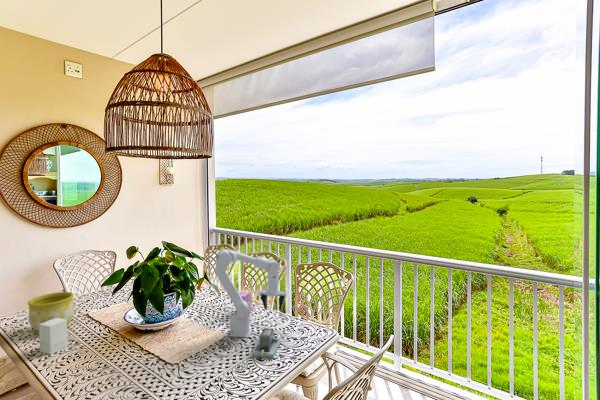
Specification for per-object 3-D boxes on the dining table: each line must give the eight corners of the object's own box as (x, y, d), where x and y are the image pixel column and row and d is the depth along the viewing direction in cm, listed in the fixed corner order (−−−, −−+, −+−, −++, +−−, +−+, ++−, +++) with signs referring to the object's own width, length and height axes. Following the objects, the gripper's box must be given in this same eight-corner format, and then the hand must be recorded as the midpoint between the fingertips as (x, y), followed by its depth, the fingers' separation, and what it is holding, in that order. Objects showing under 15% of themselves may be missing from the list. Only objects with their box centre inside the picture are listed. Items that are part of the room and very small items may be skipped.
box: (244, 316, 167) (244, 296, 166) (235, 315, 168) (235, 295, 167) (251, 309, 177) (251, 290, 176) (242, 308, 178) (242, 289, 178)
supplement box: (68, 346, 134) (67, 319, 134) (50, 355, 127) (49, 326, 127) (57, 343, 137) (56, 317, 136) (39, 351, 130) (38, 324, 129)
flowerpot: (28, 341, 138) (27, 307, 137) (29, 328, 152) (28, 297, 151) (75, 330, 150) (75, 298, 149) (73, 318, 163) (72, 289, 163)
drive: (259, 352, 129) (259, 336, 129) (264, 342, 137) (264, 327, 137) (269, 353, 129) (269, 337, 129) (273, 343, 137) (273, 328, 136)
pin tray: (251, 357, 126) (251, 349, 126) (261, 339, 141) (261, 332, 141) (272, 359, 125) (272, 351, 125) (280, 341, 140) (280, 334, 140)
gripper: (257, 285, 148) (257, 311, 149) (285, 287, 146) (284, 313, 147) (261, 281, 155) (261, 306, 156) (287, 282, 153) (287, 308, 154)
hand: (272, 309), depth 152 cm, fingers open, 7 cm apart
